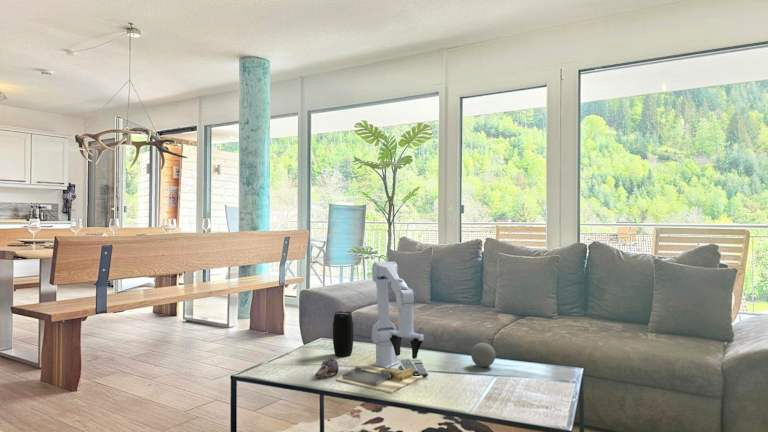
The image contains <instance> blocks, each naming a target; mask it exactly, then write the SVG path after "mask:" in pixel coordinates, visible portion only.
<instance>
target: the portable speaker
mask: <svg viewBox="0 0 768 432" xmlns="http://www.w3.org/2000/svg"><path fill="white" fill-rule="evenodd" d="M352 315H353V314H352V311H348V310H347V311H341V310H339V311H335V312H334V314H333V320H332V321H333V322H332V342H333V343H332V345H333V352H334V356H335V357H338V356H343V357H346V358H347V357H350V356H352V353H353V349H354V348H353V347H354V321H353V316H352Z"/></svg>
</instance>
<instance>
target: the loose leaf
mask: <svg viewBox="0 0 768 432" xmlns="http://www.w3.org/2000/svg"><path fill="white" fill-rule="evenodd" d="M384 371H385V372H390V373H391V376H392V379H397V380H402V381H403V380H405V379H407V378H409V377H411V376H413V374H414V367H413V366H412V367H408V368H406V369H404V370H403V369H399V368H393V367H388V368H385V369H382V370H381V371H378V372H377V373H381V374H382V372H384Z"/></svg>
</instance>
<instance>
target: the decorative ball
mask: <svg viewBox="0 0 768 432" xmlns="http://www.w3.org/2000/svg"><path fill="white" fill-rule="evenodd" d="M470 354H471V355H470V356H471V359H472V362H473V363H474V364H475V365H476V366H478V367H480V368H487V367H490V366H491V365H493V363H494V361H495V360H496V351H495V349H494V347H493V346H492V345H490V344H489V343H486V342H478V343H476V344H475V345H474V346H473V347H472V349H471V352H470Z"/></svg>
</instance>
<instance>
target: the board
mask: <svg viewBox="0 0 768 432" xmlns="http://www.w3.org/2000/svg"><path fill="white" fill-rule="evenodd" d="M382 369H386V368H383V367H378V366H373V365H367V366H365V367H364V370H366V371H371V372H376V373H377V372H378V371H381V370H382ZM423 378H424V376H423V375H420V376H411V377H409V378H407V379H405V380H403V381H402V380H397V379H392V378H391V379H390V380H387V381H385V382H383V383H381V384H379V385H377V386H375V385H370V384H366V383H361V382H357V381H352V380H348V379H343V378H342V376H340V377H338V378H336V379H335V381H337V382H342V383H345V384H349V385H353V386H359V387H363V388H366V389H372V390H377V391H381V392H385V393H389V394H393V393H396V392H397V391H399V390H402V389H403V388H405V387H408V386H410V385H411V384H413V383H416V382H417V381H420V380H421V379H423Z"/></svg>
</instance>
